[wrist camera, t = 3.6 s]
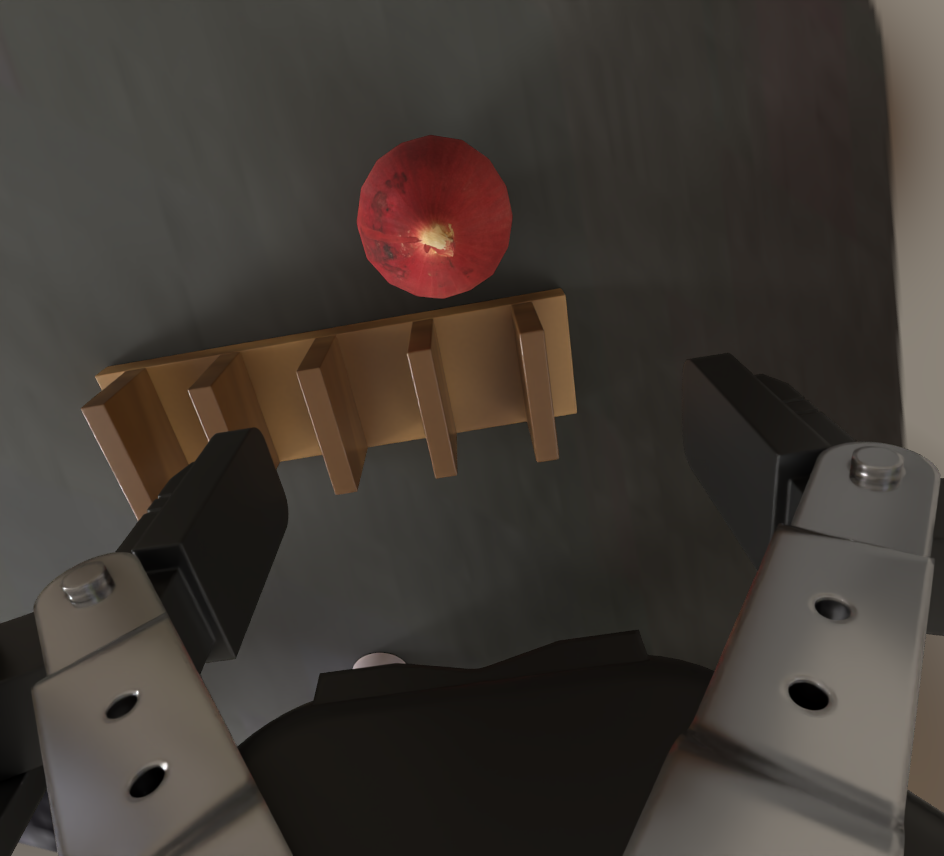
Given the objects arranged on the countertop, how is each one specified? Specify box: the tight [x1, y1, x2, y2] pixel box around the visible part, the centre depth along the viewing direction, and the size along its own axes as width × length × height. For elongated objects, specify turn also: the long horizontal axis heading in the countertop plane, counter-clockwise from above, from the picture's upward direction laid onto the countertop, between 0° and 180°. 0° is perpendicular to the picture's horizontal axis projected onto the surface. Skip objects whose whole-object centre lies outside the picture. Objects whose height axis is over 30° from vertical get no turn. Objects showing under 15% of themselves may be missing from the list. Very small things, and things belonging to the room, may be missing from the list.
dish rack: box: [81, 288, 577, 521], centre depth 28 cm, size 22×6×5 cm, turn 100°
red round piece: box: [357, 135, 513, 299], centre depth 23 cm, size 6×6×8 cm
